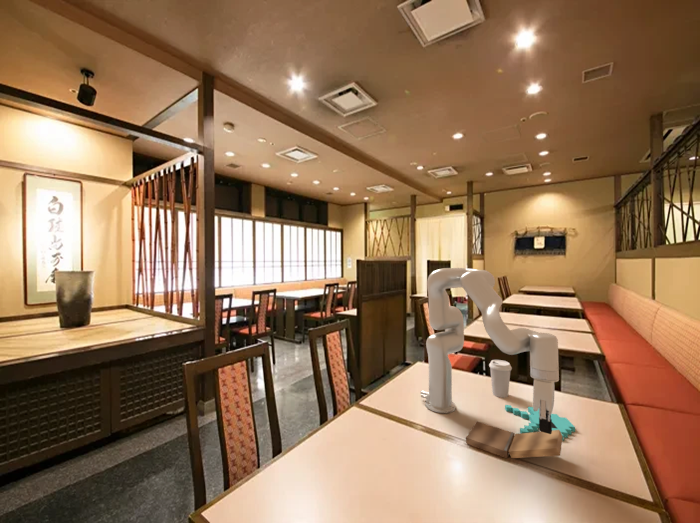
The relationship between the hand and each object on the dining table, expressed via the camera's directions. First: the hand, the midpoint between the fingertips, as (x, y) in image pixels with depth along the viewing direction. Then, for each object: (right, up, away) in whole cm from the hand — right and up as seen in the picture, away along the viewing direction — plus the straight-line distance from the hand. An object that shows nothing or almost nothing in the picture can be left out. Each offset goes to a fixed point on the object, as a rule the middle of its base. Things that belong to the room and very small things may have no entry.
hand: (545, 431), depth 94 cm
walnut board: (-13, -9, +10) cm, 19 cm away
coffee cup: (+9, -9, +46) cm, 48 cm away
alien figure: (+12, -10, +21) cm, 26 cm away
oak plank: (-2, -6, +2) cm, 6 cm away
